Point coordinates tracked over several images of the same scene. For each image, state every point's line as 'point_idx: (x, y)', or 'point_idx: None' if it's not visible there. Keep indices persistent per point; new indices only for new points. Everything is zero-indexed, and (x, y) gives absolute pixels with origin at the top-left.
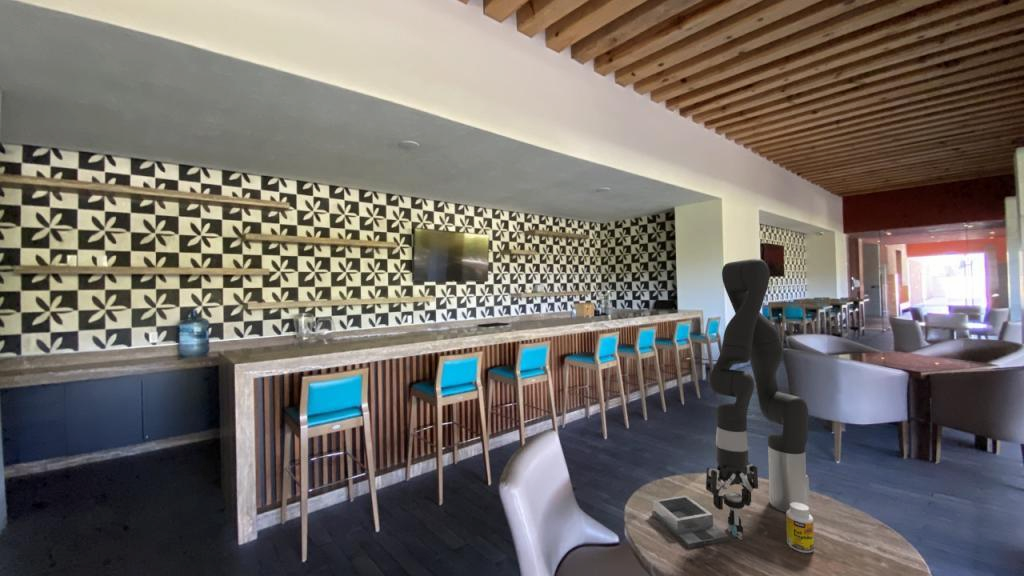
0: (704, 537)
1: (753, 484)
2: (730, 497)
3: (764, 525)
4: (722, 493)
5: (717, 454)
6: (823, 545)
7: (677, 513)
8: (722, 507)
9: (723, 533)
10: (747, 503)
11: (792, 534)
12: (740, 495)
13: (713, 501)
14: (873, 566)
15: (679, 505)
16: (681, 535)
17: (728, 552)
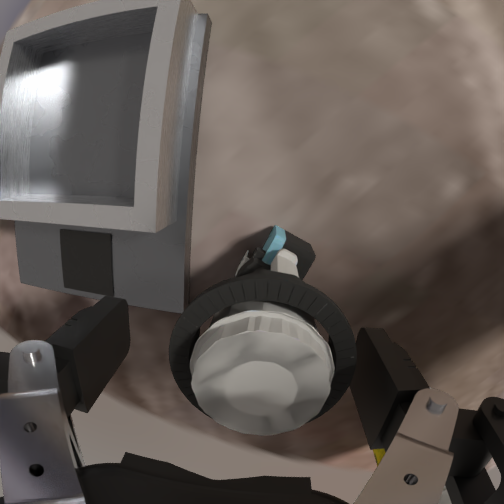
0: (79, 281)
1: (450, 484)
2: (199, 393)
3: (437, 277)
4: (74, 429)
5: None
6: None
7: (98, 72)
8: (120, 359)
9: (174, 291)
10: (350, 383)
11: (376, 450)
12: (307, 416)
13: (71, 320)
14: None
15: (134, 27)
16: (20, 232)
17: (136, 349)
